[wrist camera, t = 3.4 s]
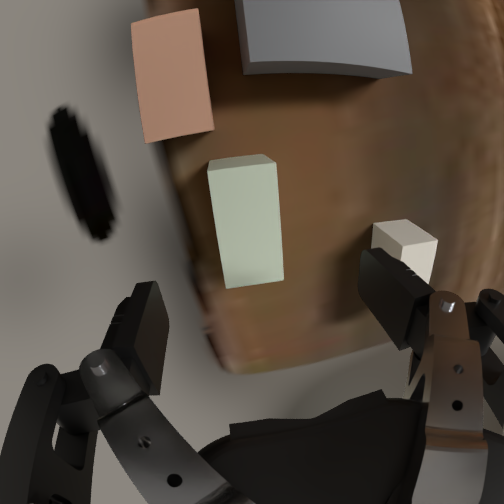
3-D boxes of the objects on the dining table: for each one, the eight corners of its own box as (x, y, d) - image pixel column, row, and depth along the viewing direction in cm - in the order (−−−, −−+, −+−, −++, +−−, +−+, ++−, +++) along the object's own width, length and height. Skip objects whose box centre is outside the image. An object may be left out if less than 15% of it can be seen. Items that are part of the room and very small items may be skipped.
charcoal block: (229, -39, 11) (233, -67, 7) (360, -27, 11) (384, -46, 8) (243, 75, 15) (250, 62, 12) (380, 78, 16) (412, 74, 12)
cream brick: (372, 222, 21) (402, 246, 17) (405, 218, 21) (437, 240, 17) (364, 294, 24) (387, 324, 20) (395, 287, 24) (419, 314, 20)
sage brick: (209, 160, 18) (207, 171, 14) (262, 153, 18) (276, 162, 14) (223, 254, 21) (226, 288, 17) (270, 248, 21) (283, 280, 17)
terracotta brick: (149, 43, 13) (131, 23, 9) (201, 33, 14) (198, 7, 10) (161, 139, 16) (145, 144, 12) (214, 129, 17) (213, 130, 13)
